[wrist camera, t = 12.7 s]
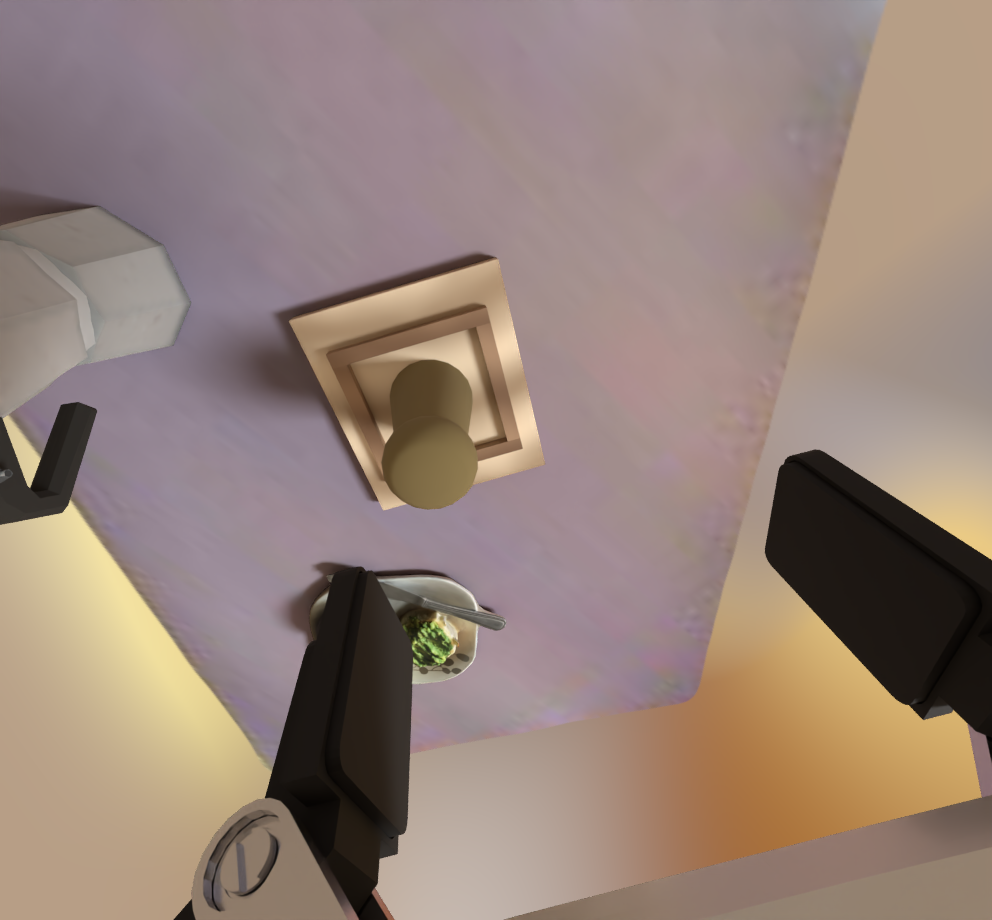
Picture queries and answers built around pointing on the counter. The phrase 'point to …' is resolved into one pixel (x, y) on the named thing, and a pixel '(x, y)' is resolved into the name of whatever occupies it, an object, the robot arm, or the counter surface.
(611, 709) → the counter surface
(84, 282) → the coffee maker
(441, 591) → the salad plate
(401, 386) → the cork
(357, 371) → the maple board
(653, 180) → the counter surface
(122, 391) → the counter surface
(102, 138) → the counter surface
